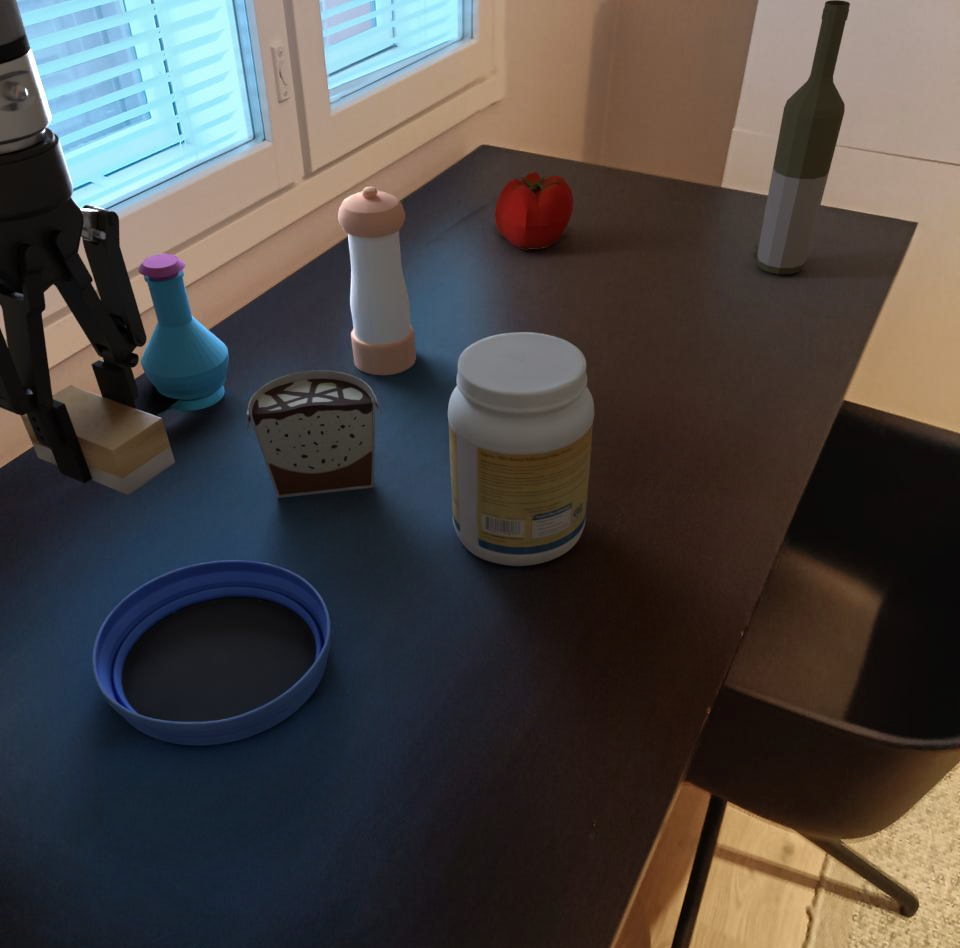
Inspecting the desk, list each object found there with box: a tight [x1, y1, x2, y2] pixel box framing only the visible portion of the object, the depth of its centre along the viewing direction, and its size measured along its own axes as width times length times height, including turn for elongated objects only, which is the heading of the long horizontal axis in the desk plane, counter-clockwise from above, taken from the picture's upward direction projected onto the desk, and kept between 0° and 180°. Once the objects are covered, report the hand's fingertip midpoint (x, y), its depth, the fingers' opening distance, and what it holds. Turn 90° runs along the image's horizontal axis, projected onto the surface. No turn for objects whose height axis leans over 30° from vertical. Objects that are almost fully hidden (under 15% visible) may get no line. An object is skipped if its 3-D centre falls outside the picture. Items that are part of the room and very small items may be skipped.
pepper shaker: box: [337, 186, 417, 376], centre depth 101 cm, size 7×7×19 cm
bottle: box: [756, 0, 851, 275], centre depth 114 cm, size 7×7×30 cm
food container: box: [245, 369, 383, 499], centre depth 89 cm, size 12×6×10 cm, turn 100°
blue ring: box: [91, 559, 333, 747], centre depth 72 cm, size 18×18×4 cm
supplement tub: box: [447, 331, 595, 567], centre depth 80 cm, size 12×12×17 cm
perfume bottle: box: [137, 253, 230, 412], centre depth 98 cm, size 9×9×15 cm
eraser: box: [20, 384, 176, 496], centre depth 72 cm, size 10×5×4 cm, turn 59°
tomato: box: [494, 171, 574, 249], centre depth 128 cm, size 11×11×9 cm
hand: (104, 457), depth 73 cm, fingers closed on eraser, 5 cm apart
